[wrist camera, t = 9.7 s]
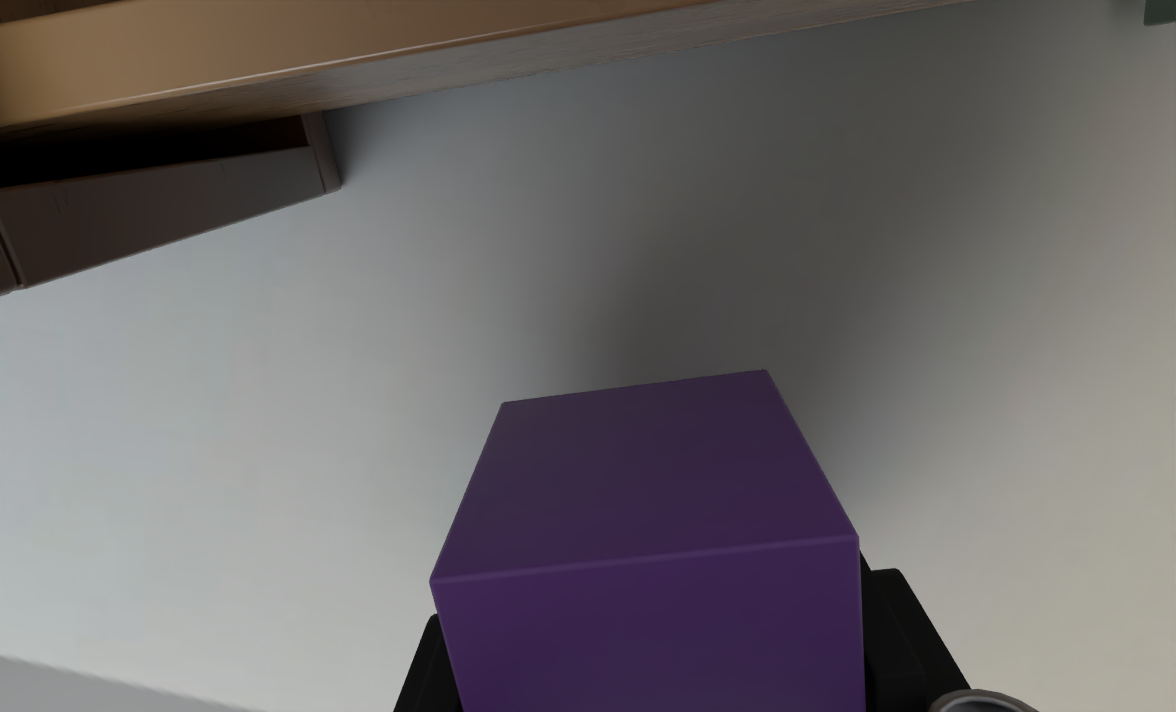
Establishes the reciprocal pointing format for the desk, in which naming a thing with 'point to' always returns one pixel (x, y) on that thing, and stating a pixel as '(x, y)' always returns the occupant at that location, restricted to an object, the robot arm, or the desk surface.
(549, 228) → the desk surface
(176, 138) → the desk cabinet
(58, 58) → the drawer
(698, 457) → the purple block
